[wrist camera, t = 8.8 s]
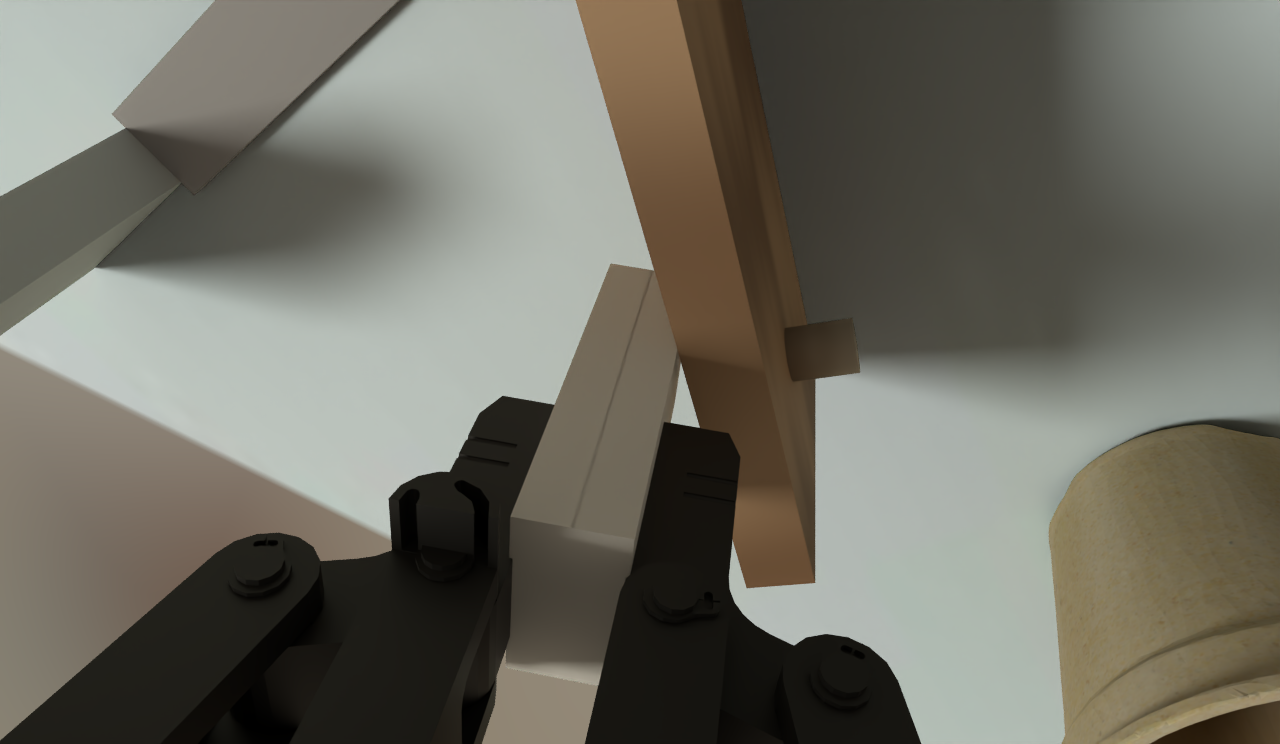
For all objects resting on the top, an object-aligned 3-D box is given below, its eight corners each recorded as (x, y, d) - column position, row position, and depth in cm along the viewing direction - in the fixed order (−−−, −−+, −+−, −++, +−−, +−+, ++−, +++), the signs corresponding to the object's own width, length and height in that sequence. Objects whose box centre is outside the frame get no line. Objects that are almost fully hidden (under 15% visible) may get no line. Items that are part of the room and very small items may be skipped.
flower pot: (1175, 693, 27) (1306, 1036, 19) (904, 546, 25) (939, 859, 18) (1497, 489, 21) (1835, 855, 14) (1179, 291, 20) (1380, 588, 13)
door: (583, -376, 15) (410, -469, 9) (735, -433, 14) (669, -582, 8) (760, 366, 22) (738, 614, 16) (866, 351, 22) (889, 604, 15)
